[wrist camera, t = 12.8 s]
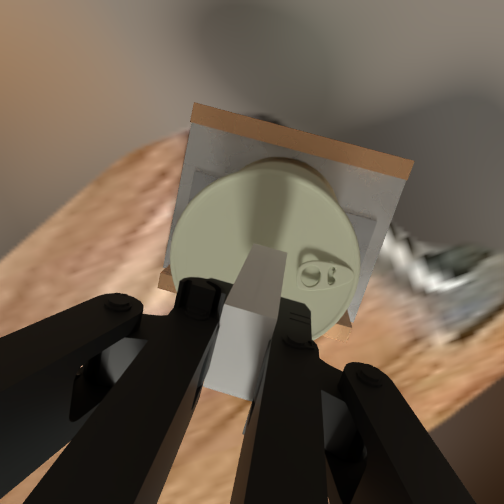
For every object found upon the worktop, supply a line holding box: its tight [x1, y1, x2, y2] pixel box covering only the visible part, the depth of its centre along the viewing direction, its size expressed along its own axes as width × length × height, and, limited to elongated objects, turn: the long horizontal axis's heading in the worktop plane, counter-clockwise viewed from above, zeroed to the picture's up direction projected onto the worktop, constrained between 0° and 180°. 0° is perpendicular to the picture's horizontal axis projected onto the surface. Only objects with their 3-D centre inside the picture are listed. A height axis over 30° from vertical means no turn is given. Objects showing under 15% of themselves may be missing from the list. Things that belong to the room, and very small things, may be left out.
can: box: [170, 157, 360, 340], centre depth 24 cm, size 9×9×12 cm
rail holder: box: [158, 103, 414, 343], centre depth 28 cm, size 16×13×5 cm
